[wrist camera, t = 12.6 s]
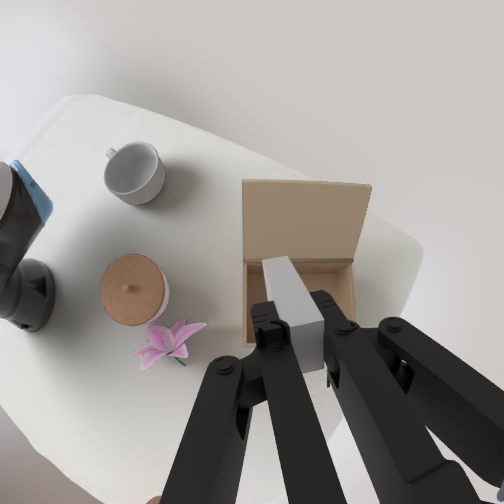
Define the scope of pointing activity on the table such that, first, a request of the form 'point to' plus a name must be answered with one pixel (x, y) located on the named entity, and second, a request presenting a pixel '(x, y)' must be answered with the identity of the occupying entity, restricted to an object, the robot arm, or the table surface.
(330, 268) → the mailer box
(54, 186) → the table surface
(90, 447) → the table surface
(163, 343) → the lily
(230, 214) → the table surface
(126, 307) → the lidded jar
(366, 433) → the robot arm
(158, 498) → the coffee cup
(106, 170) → the teacup
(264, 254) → the lid
